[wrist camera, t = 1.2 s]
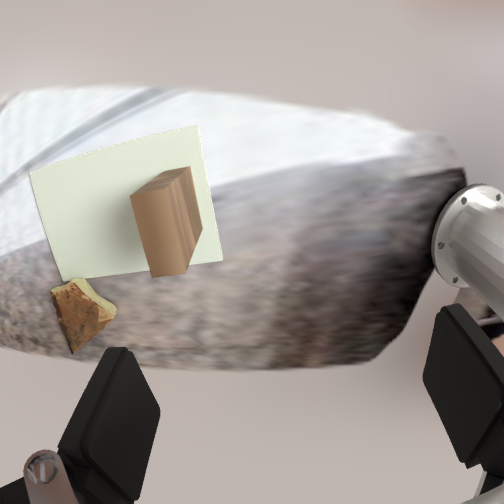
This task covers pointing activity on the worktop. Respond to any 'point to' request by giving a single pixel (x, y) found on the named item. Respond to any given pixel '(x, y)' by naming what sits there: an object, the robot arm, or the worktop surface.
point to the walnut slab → (168, 221)
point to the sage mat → (117, 203)
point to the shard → (81, 312)
